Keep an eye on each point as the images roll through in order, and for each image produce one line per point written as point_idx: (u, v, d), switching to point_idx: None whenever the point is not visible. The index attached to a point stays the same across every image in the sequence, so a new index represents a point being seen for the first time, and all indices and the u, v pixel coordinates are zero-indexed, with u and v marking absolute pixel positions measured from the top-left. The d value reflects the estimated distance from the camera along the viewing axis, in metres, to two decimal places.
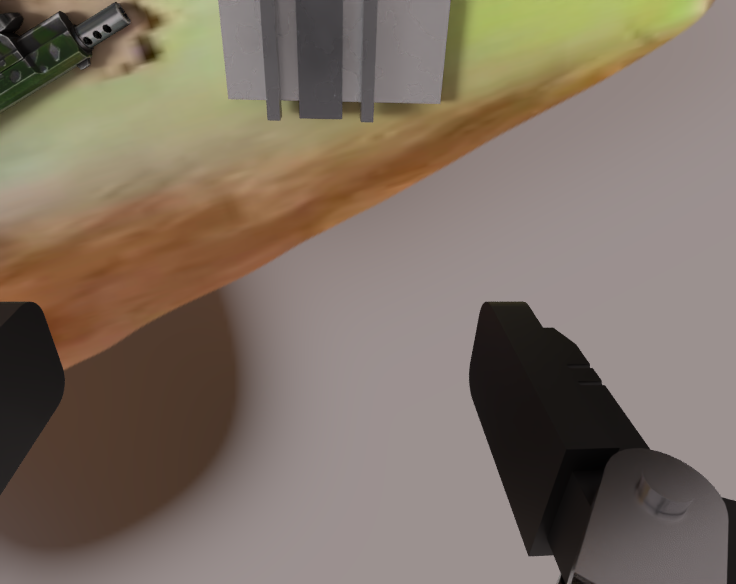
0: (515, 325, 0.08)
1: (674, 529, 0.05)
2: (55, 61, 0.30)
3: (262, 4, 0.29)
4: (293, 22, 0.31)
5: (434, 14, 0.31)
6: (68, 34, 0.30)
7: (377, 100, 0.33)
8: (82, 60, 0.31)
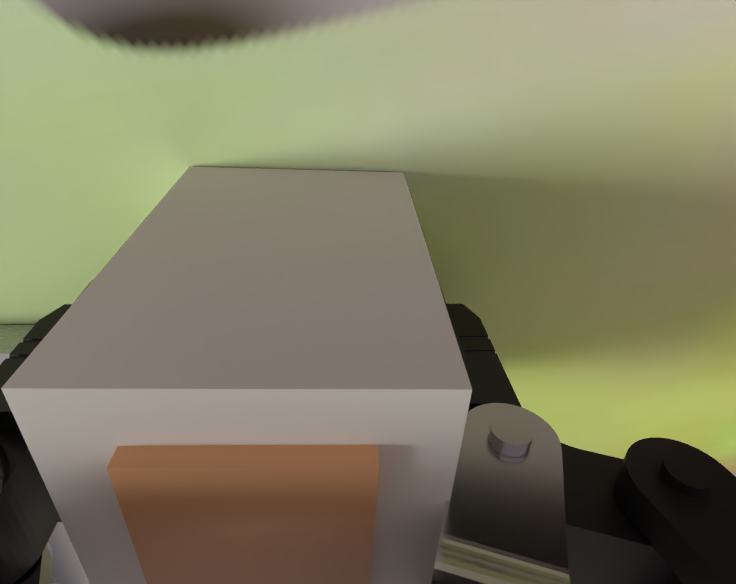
0: None
1: (507, 468, 0.06)
2: None
3: None
4: None
5: None
6: None
7: None
8: None
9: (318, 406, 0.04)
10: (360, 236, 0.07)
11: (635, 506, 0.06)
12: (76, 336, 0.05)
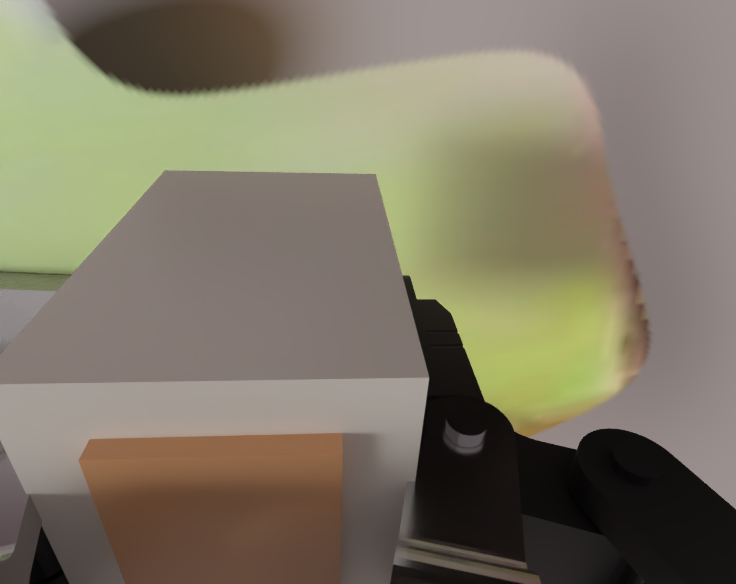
0: None
1: (460, 457, 0.06)
2: None
3: None
4: None
5: None
6: None
7: None
8: None
9: (283, 396, 0.05)
10: (329, 236, 0.07)
11: (588, 499, 0.06)
12: (49, 335, 0.05)
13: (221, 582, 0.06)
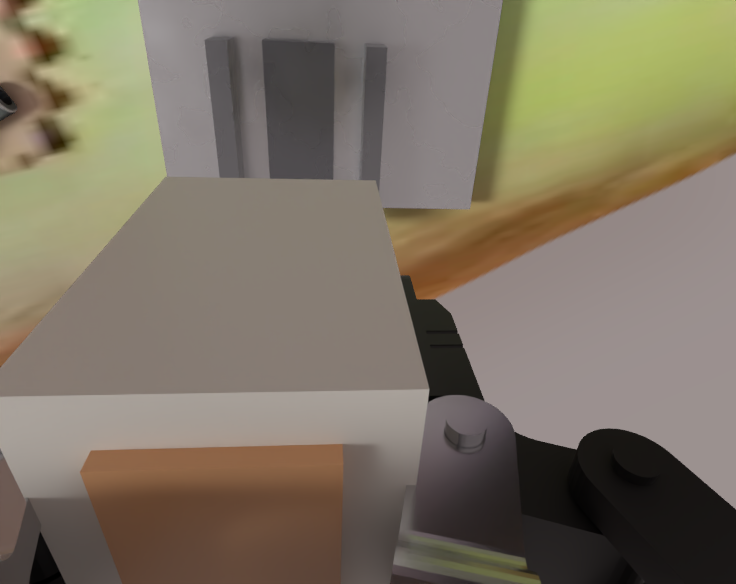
0: None
1: (460, 457, 0.06)
2: None
3: (213, 84, 0.19)
4: (262, 104, 0.21)
5: (467, 93, 0.21)
6: None
7: (382, 205, 0.24)
8: None
9: (284, 408, 0.05)
10: (330, 244, 0.07)
11: (588, 499, 0.06)
12: (49, 346, 0.05)
13: None
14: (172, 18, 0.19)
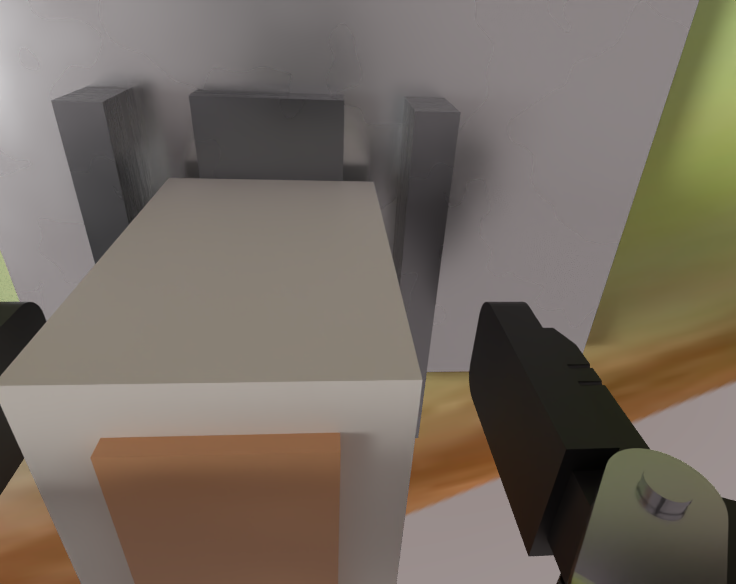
0: (515, 325, 0.08)
1: (674, 529, 0.05)
2: None
3: (84, 191, 0.09)
4: None
5: (598, 187, 0.11)
6: None
7: (426, 368, 0.13)
8: None
9: (284, 397, 0.05)
10: (328, 243, 0.07)
11: None
12: (61, 338, 0.05)
13: (224, 576, 0.06)
14: None
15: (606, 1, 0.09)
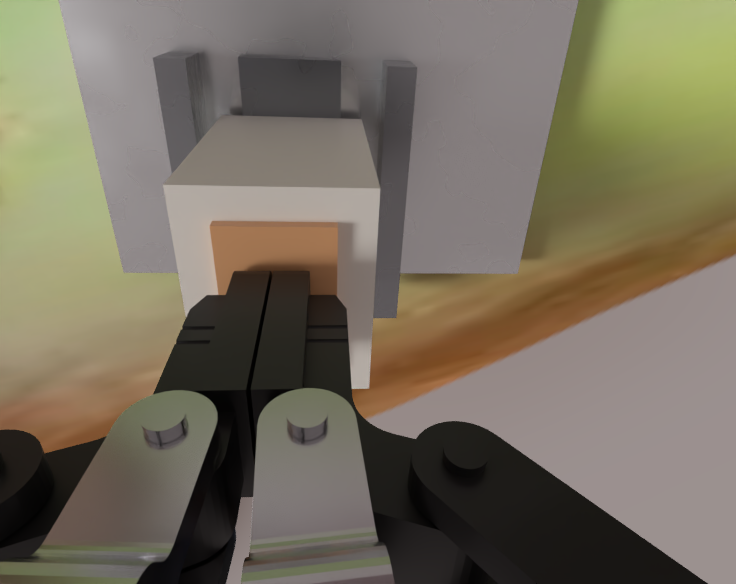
0: (282, 289, 0.09)
1: (291, 450, 0.06)
2: None
3: (168, 120, 0.13)
4: None
5: (522, 127, 0.16)
6: None
7: (403, 270, 0.18)
8: None
9: (308, 197, 0.09)
10: (331, 144, 0.12)
11: (428, 504, 0.05)
12: (188, 172, 0.10)
13: None
14: (110, 27, 0.13)
15: None
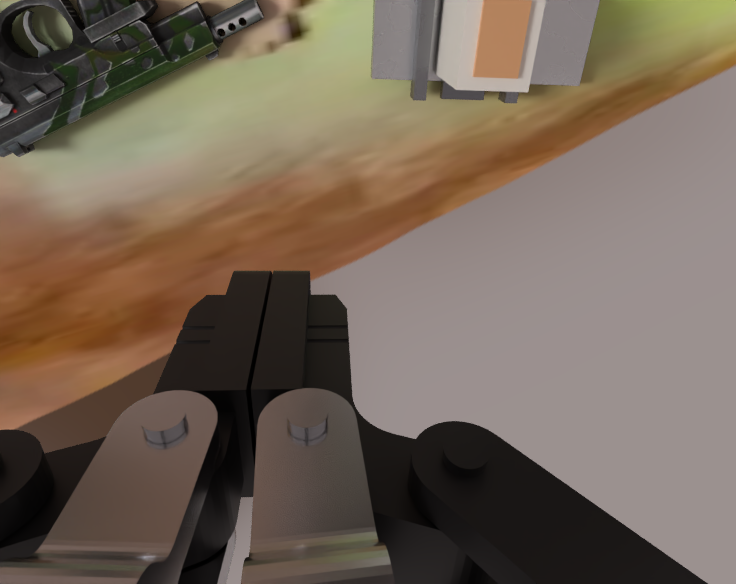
0: (283, 289, 0.09)
1: (292, 450, 0.06)
2: (187, 50, 0.30)
3: None
4: None
5: None
6: (205, 25, 0.30)
7: None
8: (212, 51, 0.31)
9: None
10: None
11: (428, 504, 0.05)
12: None
13: (497, 46, 0.26)
14: None
15: None
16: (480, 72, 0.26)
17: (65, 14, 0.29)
